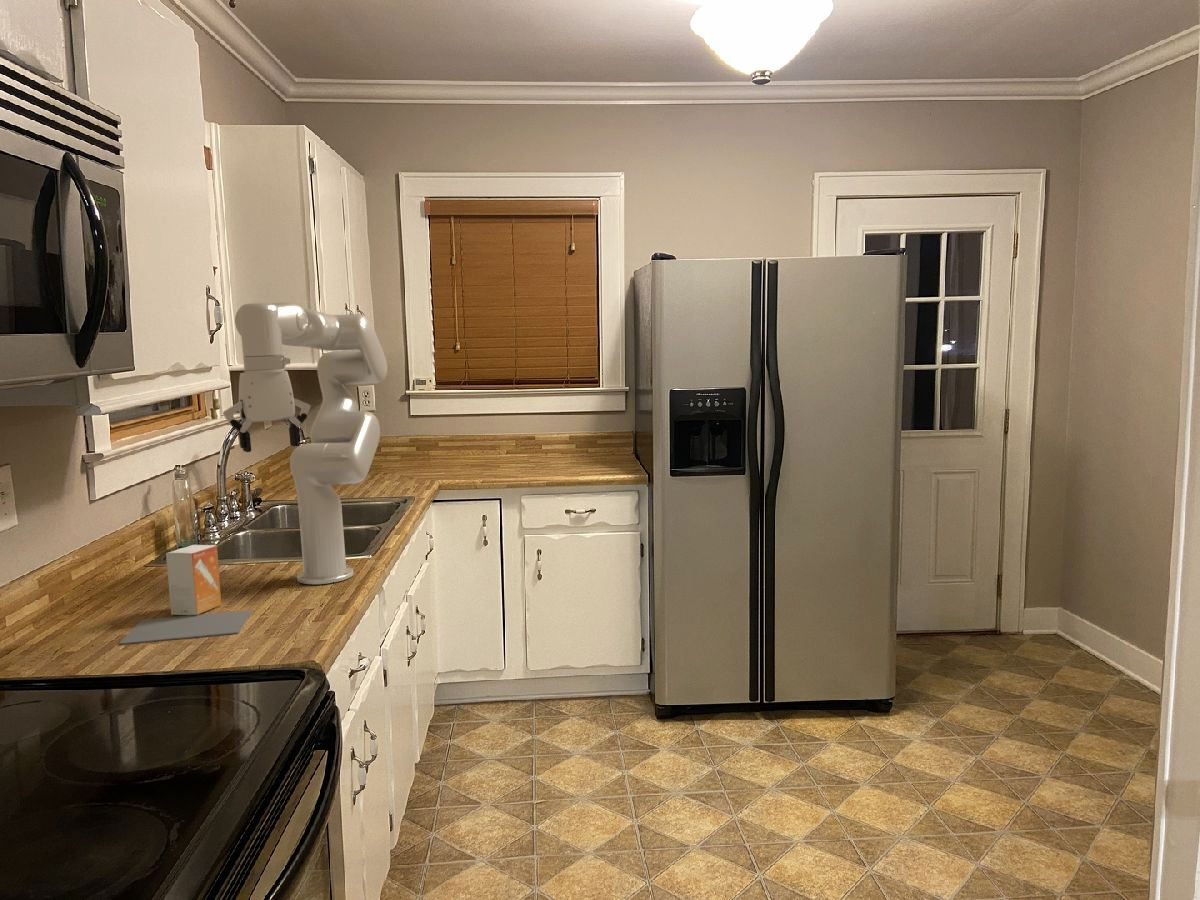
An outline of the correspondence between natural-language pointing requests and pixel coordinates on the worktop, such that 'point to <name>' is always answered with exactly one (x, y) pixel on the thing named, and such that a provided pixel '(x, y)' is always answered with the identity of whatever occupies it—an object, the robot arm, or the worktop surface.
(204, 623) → the mat
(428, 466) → the worktop surface
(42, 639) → the worktop surface
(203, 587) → the small box
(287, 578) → the worktop surface
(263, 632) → the worktop surface
